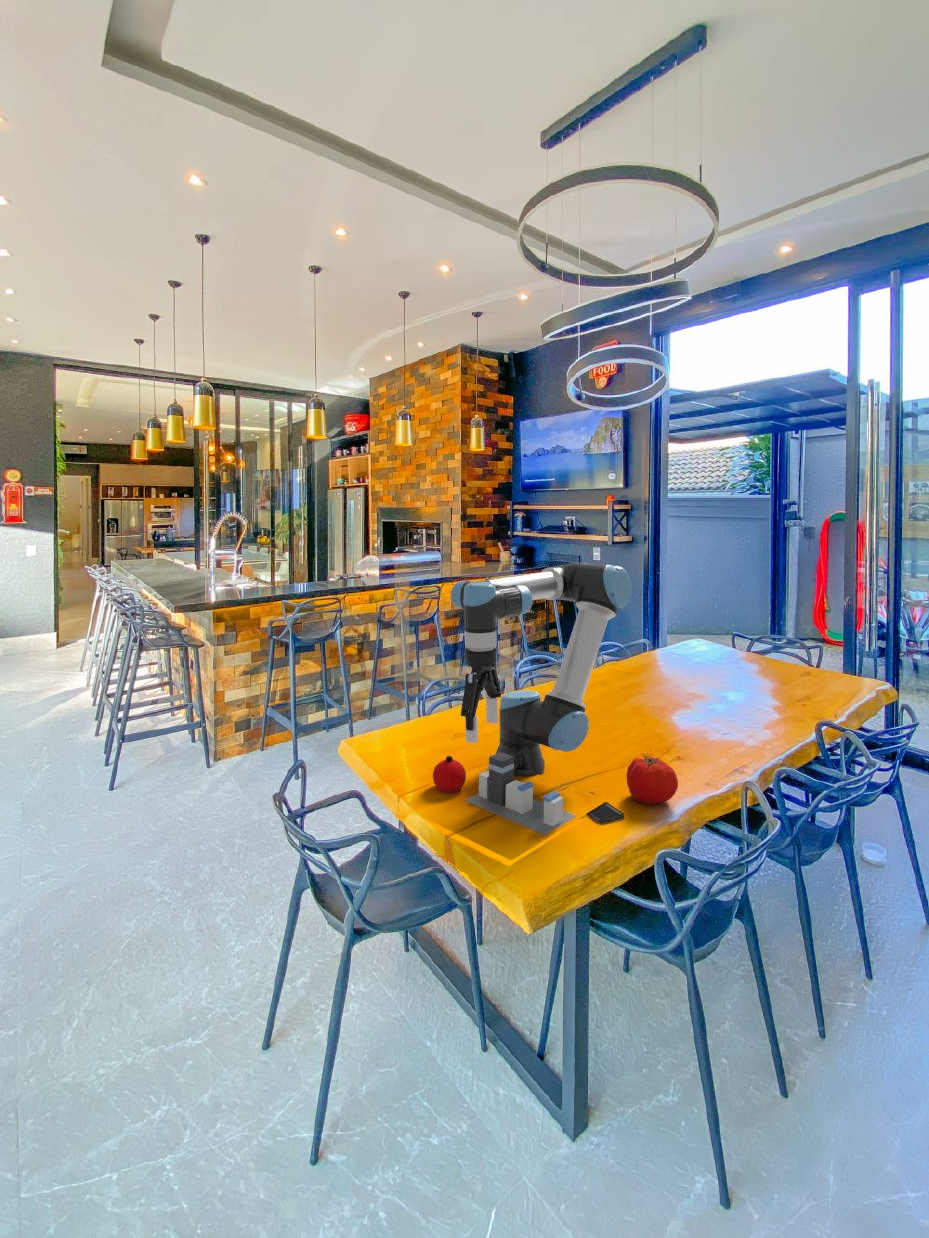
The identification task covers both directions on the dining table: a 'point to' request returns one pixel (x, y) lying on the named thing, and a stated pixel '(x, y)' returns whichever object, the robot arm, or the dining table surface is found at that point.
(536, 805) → the grey plate with blocks
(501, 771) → the plug
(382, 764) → the dining table surface
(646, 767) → the tomato
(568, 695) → the robot arm
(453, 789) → the ornament
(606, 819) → the phone
